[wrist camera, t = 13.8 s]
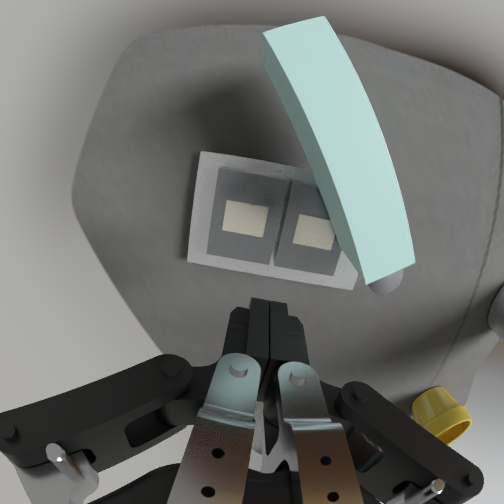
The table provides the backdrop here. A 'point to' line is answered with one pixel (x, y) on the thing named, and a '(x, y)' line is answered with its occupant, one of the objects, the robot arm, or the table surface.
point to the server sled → (265, 222)
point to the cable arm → (342, 148)
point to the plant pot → (441, 415)
